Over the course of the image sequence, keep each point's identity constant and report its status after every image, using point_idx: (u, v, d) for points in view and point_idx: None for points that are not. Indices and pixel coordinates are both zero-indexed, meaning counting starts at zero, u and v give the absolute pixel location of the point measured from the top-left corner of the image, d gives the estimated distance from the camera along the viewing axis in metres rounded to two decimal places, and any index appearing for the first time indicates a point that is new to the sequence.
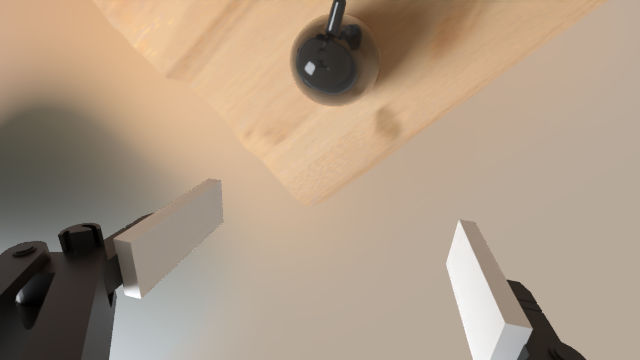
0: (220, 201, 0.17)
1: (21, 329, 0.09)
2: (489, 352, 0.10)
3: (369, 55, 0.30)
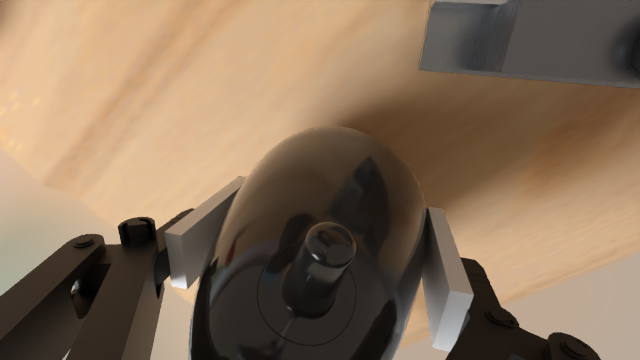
0: None
1: (74, 318, 0.10)
2: (439, 318, 0.11)
3: (415, 283, 0.11)
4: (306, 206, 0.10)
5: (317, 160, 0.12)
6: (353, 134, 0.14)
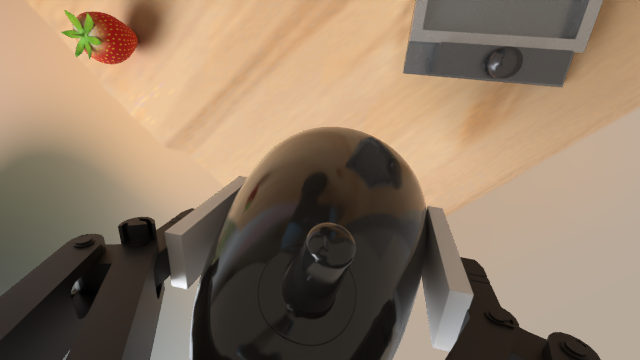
0: None
1: (74, 318, 0.10)
2: (439, 318, 0.11)
3: (415, 283, 0.11)
4: (306, 206, 0.10)
5: (318, 161, 0.12)
6: (353, 135, 0.14)
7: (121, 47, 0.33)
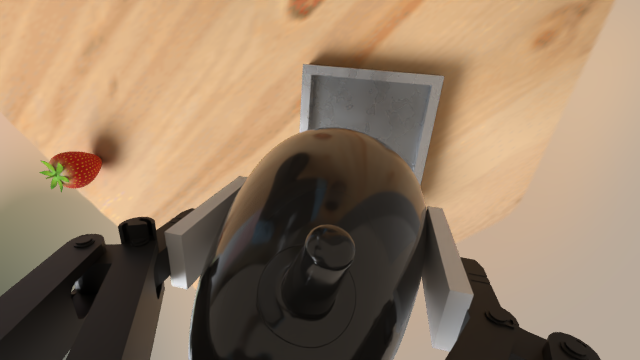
0: None
1: (74, 318, 0.10)
2: (439, 318, 0.11)
3: (415, 284, 0.11)
4: (305, 207, 0.10)
5: (317, 162, 0.12)
6: (353, 135, 0.14)
7: (86, 178, 0.43)
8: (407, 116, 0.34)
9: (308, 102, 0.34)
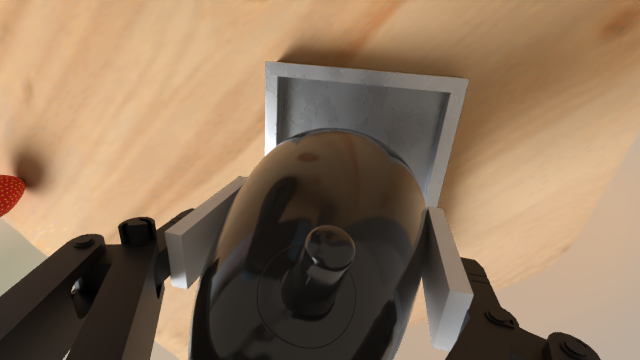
0: None
1: (74, 318, 0.10)
2: (439, 318, 0.11)
3: (415, 284, 0.11)
4: (305, 208, 0.10)
5: (317, 162, 0.12)
6: (353, 135, 0.14)
7: None
8: (413, 135, 0.24)
9: (275, 115, 0.25)
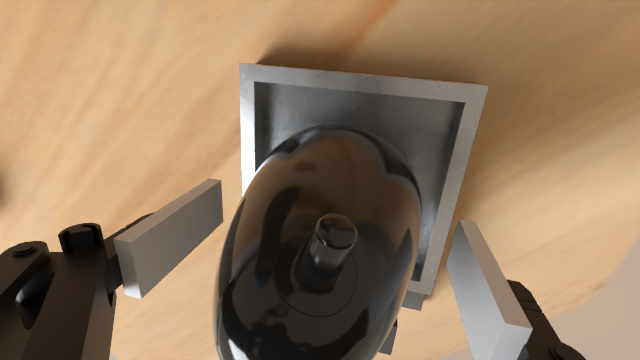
0: (220, 201, 0.17)
1: (21, 329, 0.09)
2: (489, 352, 0.10)
3: (410, 266, 0.12)
4: (312, 199, 0.11)
5: (322, 157, 0.13)
6: (354, 132, 0.16)
7: None
8: (418, 152, 0.20)
9: (252, 127, 0.21)
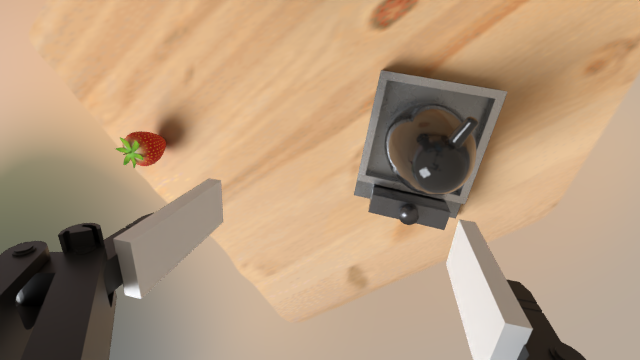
0: (220, 201, 0.17)
1: (21, 329, 0.09)
2: (489, 352, 0.10)
3: None
4: (446, 122, 0.29)
5: (441, 111, 0.31)
6: (446, 105, 0.34)
7: (156, 157, 0.46)
8: None
9: (380, 104, 0.39)
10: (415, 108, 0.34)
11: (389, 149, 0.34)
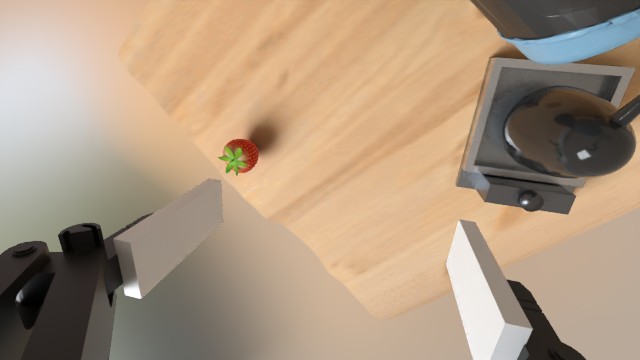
0: (220, 201, 0.17)
1: (21, 329, 0.09)
2: (489, 352, 0.10)
3: None
4: (599, 103, 0.28)
5: (583, 93, 0.31)
6: (576, 87, 0.33)
7: (254, 163, 0.47)
8: None
9: (493, 92, 0.38)
10: (545, 92, 0.33)
11: (522, 135, 0.33)
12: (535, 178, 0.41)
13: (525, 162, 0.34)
